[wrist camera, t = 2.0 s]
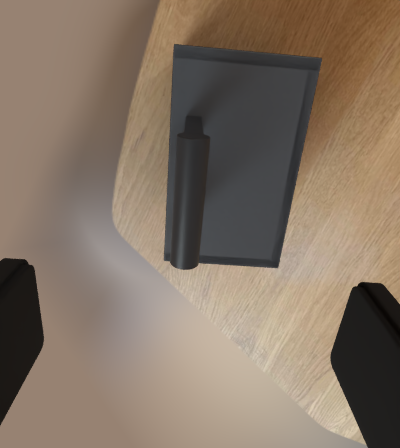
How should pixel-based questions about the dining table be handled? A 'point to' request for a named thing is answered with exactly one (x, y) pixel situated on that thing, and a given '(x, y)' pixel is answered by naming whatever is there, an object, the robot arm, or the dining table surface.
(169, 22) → the dining table surface
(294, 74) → the grey tool caddy
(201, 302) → the dining table surface
